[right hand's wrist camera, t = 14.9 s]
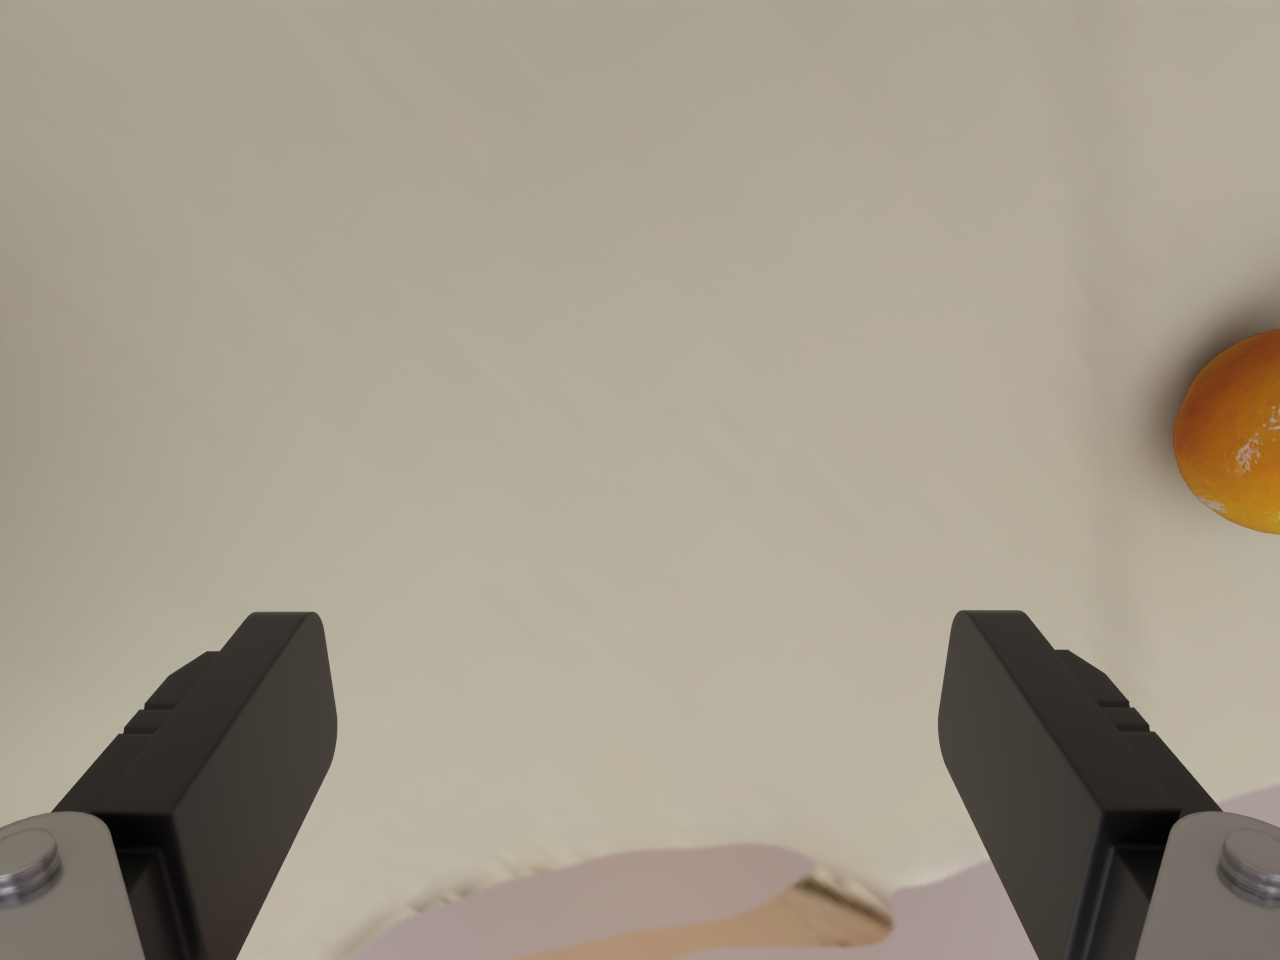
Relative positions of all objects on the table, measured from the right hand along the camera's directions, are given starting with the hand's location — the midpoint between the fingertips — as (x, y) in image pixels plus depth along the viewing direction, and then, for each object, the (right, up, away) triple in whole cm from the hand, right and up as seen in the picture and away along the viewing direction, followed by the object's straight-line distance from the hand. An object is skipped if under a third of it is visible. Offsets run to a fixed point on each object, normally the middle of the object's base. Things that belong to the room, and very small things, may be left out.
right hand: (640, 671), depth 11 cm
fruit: (+27, +6, +29) cm, 40 cm away
